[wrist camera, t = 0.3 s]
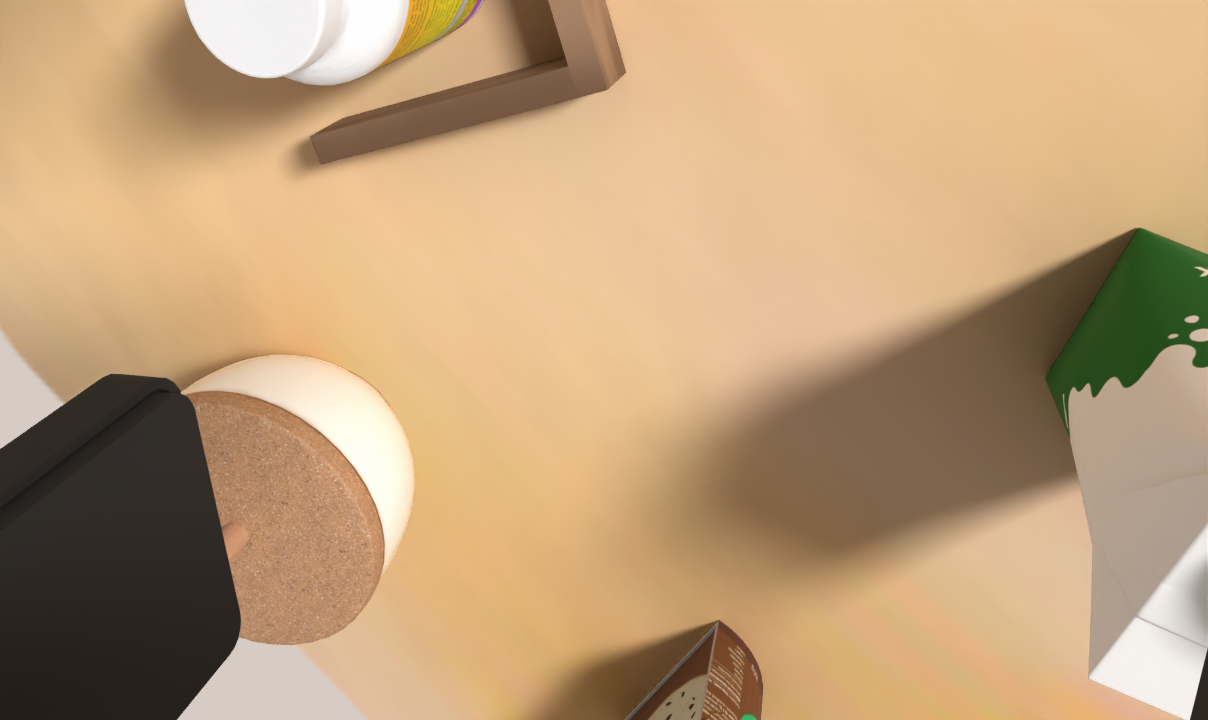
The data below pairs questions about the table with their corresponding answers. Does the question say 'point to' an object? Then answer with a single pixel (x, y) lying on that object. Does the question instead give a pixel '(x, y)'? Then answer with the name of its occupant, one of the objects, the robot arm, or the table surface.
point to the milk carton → (1144, 468)
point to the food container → (708, 683)
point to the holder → (491, 89)
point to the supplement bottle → (321, 34)
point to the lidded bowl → (303, 490)
